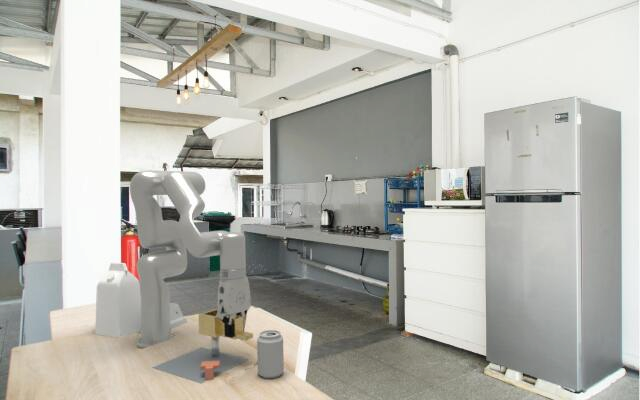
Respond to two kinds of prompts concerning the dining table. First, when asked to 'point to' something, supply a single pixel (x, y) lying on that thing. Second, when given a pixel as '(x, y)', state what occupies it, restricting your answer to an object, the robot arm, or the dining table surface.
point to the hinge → (176, 316)
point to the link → (221, 326)
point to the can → (270, 354)
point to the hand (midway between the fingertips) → (234, 334)
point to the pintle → (215, 346)
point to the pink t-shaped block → (209, 368)
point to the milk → (118, 302)
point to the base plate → (198, 364)
